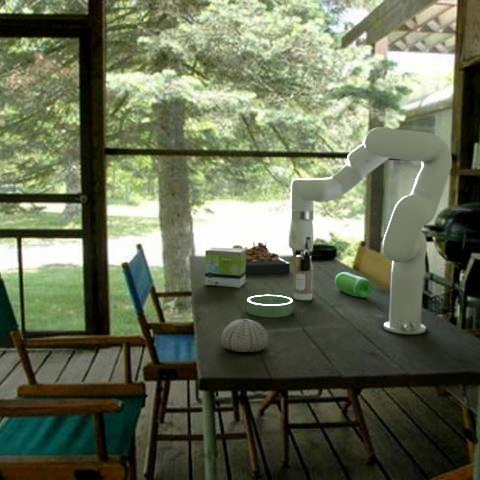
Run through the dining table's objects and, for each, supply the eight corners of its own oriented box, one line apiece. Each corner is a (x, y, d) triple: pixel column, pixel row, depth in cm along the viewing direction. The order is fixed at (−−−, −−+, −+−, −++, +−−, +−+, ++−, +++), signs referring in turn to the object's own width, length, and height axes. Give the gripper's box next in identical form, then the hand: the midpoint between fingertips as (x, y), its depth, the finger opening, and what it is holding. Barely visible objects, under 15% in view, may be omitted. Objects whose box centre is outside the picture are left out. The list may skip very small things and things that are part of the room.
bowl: (293, 319, 202) (294, 305, 202) (247, 318, 203) (247, 304, 202) (290, 308, 218) (291, 295, 217) (247, 307, 218) (247, 294, 217)
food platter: (218, 258, 323) (219, 239, 321) (264, 257, 328) (265, 238, 327) (236, 274, 279) (237, 251, 278) (289, 273, 284) (289, 250, 283)
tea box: (204, 285, 254) (204, 250, 252) (211, 281, 264) (211, 246, 262) (240, 288, 250) (240, 251, 248) (245, 283, 260) (246, 248, 258)
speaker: (333, 290, 248) (333, 271, 247) (348, 289, 251) (349, 270, 250) (356, 299, 232) (356, 279, 231) (372, 298, 234) (373, 278, 233)
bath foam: (290, 299, 230) (291, 246, 228) (298, 296, 236) (299, 244, 234) (307, 301, 227) (309, 247, 224) (315, 298, 233) (316, 245, 230)
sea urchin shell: (219, 341, 177) (219, 314, 176) (266, 341, 178) (267, 313, 177) (221, 356, 164) (221, 326, 163) (272, 355, 165) (272, 326, 163)
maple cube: (311, 270, 208) (311, 256, 207) (297, 271, 206) (297, 256, 205) (304, 268, 212) (304, 254, 212) (291, 269, 211) (291, 254, 210)
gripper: (281, 214, 214) (281, 266, 216) (302, 218, 198) (302, 274, 200) (301, 213, 216) (300, 265, 218) (323, 217, 200) (322, 273, 202)
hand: (301, 269), depth 209 cm, fingers closed on maple cube, 5 cm apart
